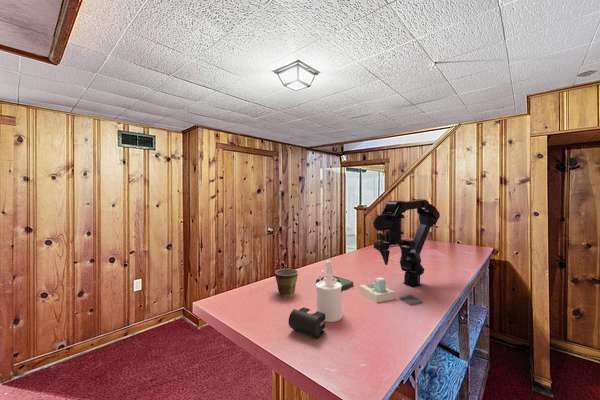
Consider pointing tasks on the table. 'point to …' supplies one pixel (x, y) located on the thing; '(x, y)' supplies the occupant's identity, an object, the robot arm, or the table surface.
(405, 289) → the table surface
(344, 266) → the table surface
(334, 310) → the white pump bottle
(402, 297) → the holster
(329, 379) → the table surface
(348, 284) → the disk drive
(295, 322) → the end cap
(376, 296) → the port block
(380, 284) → the plug
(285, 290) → the olive plant pot
